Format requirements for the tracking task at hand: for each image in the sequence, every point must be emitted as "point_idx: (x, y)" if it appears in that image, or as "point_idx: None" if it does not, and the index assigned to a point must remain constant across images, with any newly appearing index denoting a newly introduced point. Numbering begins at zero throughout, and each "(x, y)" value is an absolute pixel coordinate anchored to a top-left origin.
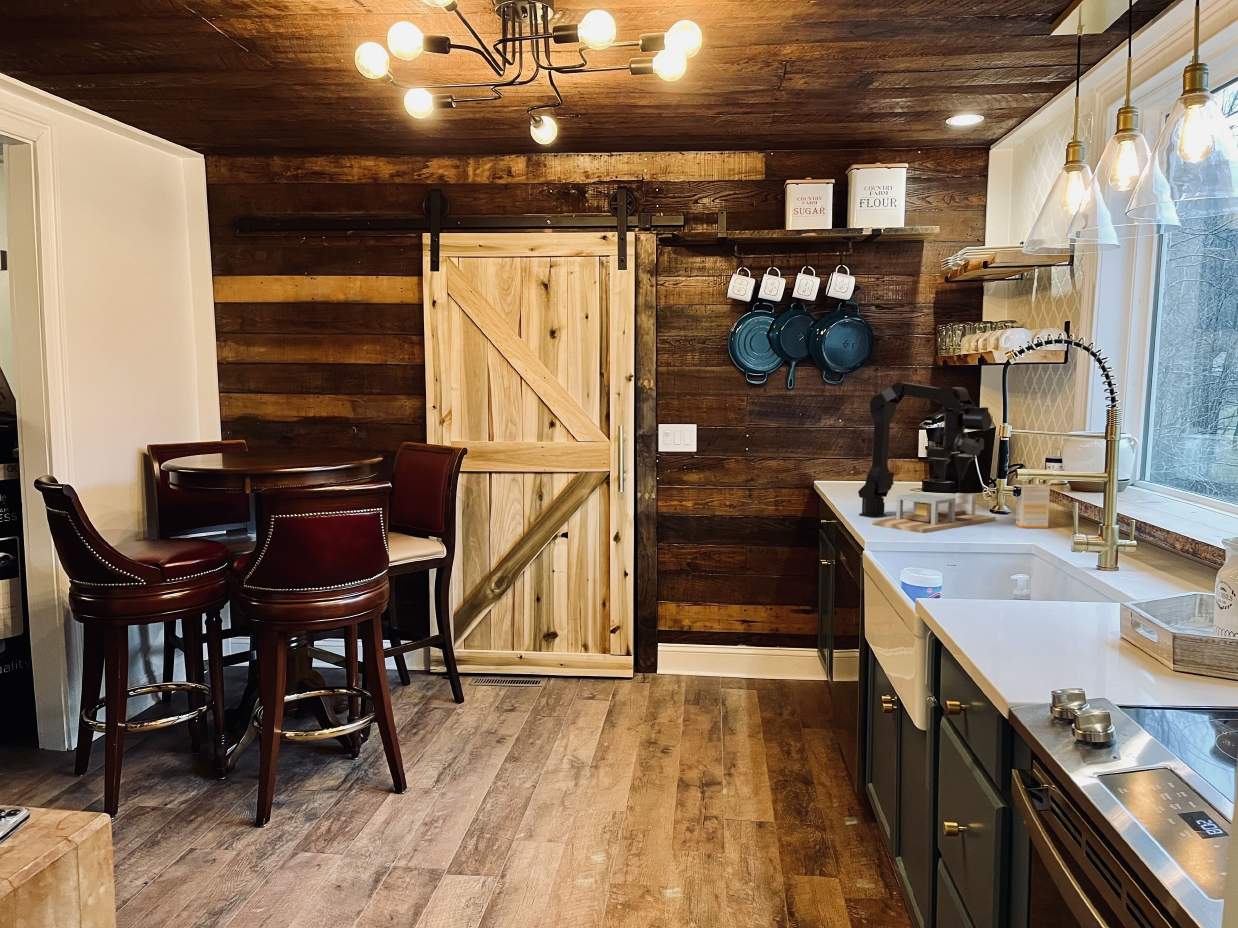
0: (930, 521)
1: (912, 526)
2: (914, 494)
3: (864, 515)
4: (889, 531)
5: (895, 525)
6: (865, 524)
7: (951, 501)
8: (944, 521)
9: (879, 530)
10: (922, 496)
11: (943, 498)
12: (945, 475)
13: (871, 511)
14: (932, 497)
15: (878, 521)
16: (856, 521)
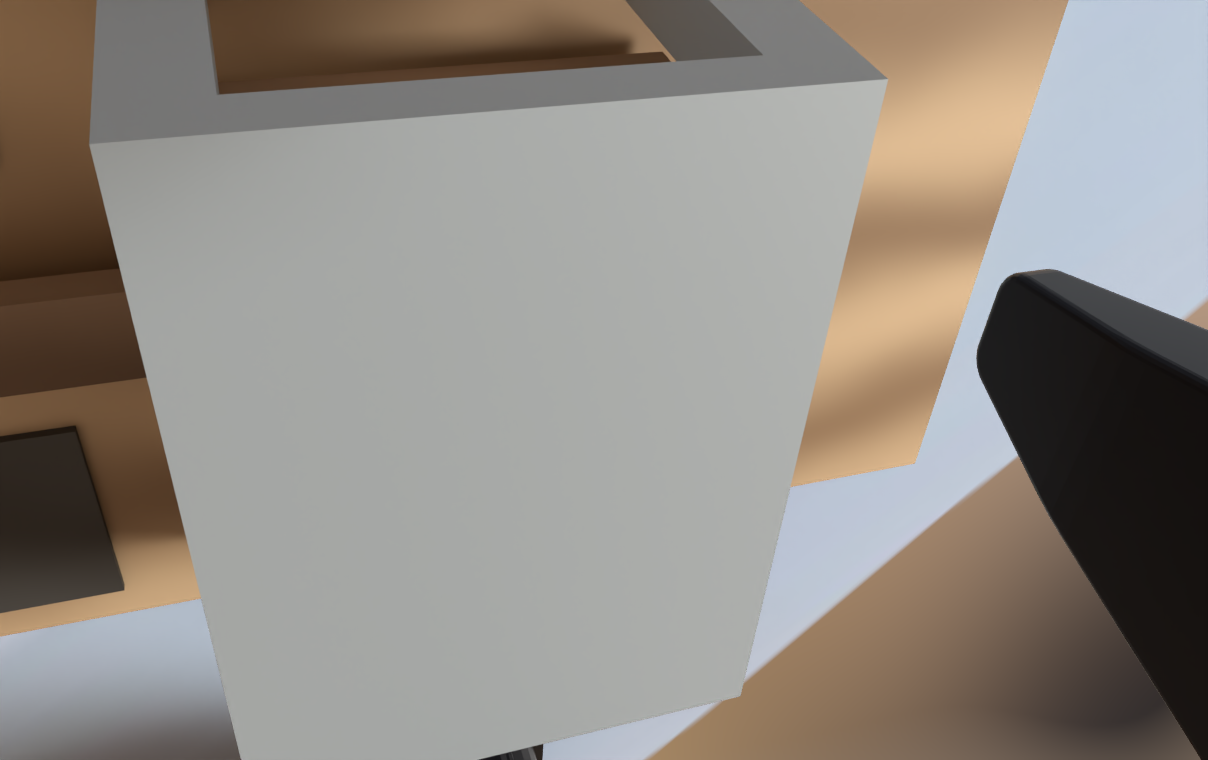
0: (620, 56)
1: (1014, 7)
2: (397, 740)
3: (540, 748)
4: (1180, 88)
5: (992, 201)
6: (921, 462)
7: (268, 98)
8: (250, 49)
9: (1171, 182)
10: (498, 568)
11: (398, 254)
12: (1184, 364)
13: (530, 757)
14: (464, 433)
15: (917, 413)
16: (825, 587)
